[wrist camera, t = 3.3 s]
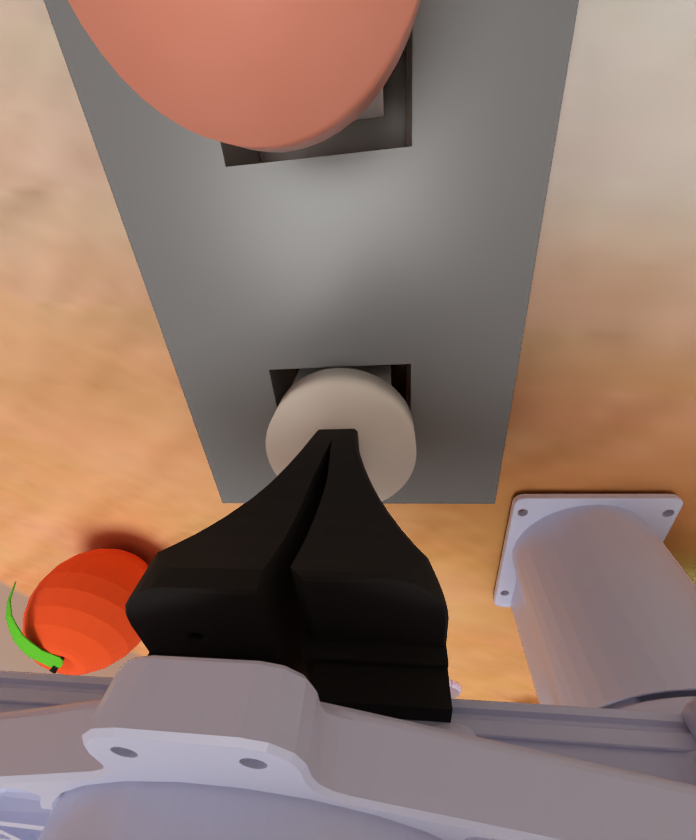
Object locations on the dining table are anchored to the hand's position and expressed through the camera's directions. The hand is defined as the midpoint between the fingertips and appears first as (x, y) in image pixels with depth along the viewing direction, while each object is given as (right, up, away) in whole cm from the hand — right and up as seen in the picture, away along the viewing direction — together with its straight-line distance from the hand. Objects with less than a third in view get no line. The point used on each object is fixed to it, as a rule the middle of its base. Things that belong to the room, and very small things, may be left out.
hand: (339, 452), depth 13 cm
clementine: (-15, -8, +13) cm, 22 cm away
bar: (0, +7, +1) cm, 8 cm away
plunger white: (0, +3, +4) cm, 5 cm away
